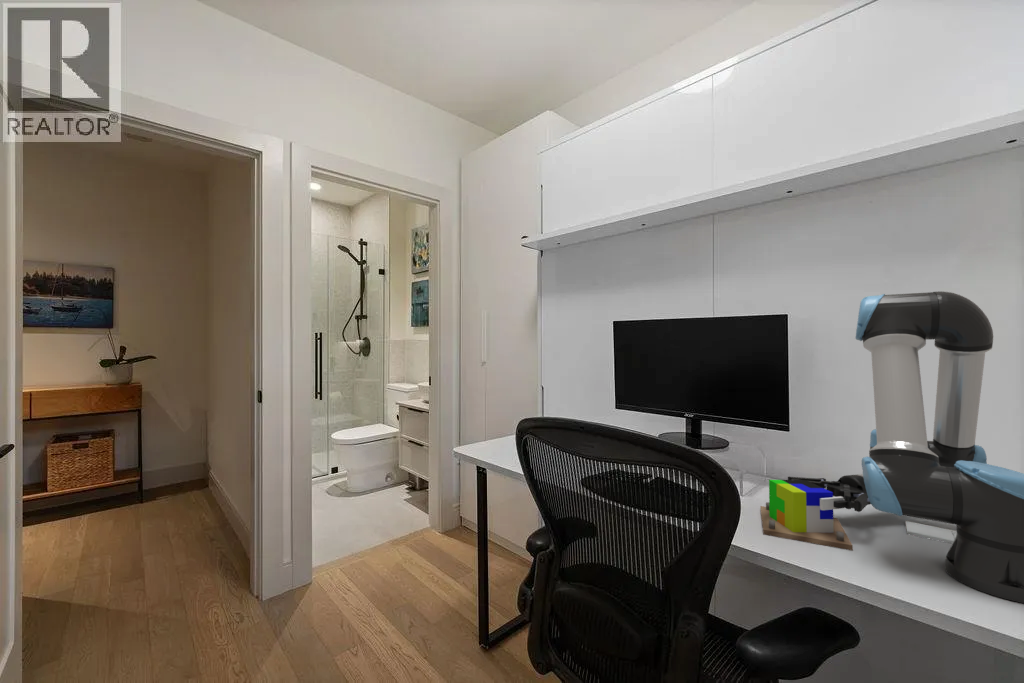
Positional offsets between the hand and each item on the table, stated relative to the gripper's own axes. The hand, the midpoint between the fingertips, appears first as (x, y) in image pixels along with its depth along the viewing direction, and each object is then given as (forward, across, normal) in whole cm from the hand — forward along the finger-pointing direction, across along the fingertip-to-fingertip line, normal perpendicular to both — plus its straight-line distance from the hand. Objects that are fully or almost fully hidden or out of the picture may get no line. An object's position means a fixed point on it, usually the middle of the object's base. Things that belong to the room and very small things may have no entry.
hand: (796, 495), depth 110 cm
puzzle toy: (-1, 0, -8) cm, 8 cm away
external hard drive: (-31, -12, -10) cm, 35 cm away
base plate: (-1, 0, -9) cm, 9 cm away
